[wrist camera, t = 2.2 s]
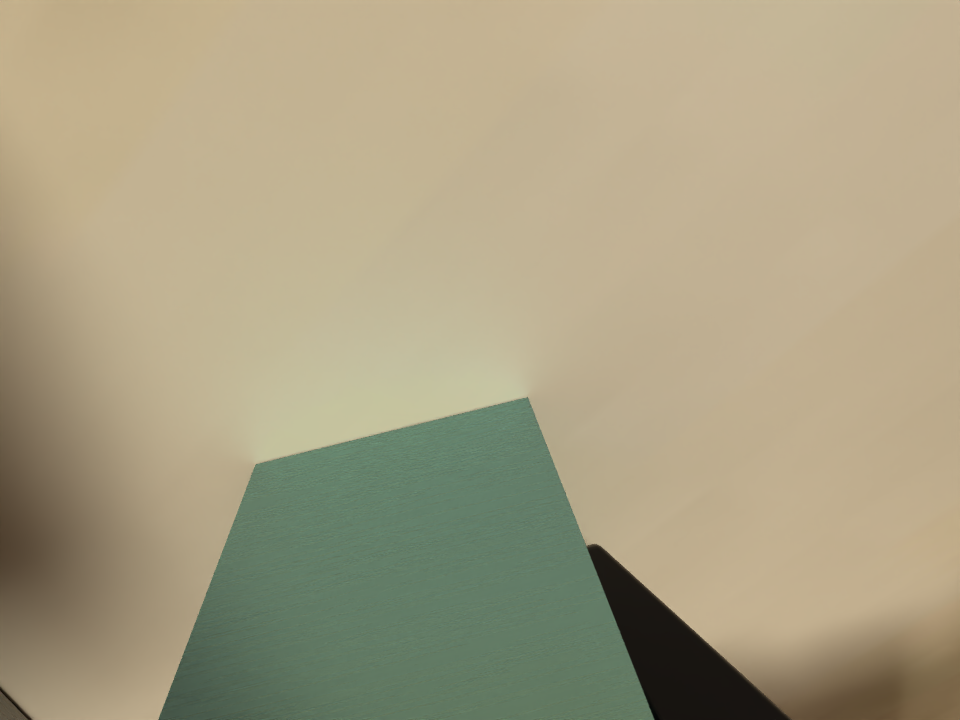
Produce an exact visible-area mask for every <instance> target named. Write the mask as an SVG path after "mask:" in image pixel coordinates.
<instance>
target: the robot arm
mask: <svg viewBox="0 0 960 720" xmlns="http://www.w3.org/2000/svg"><path fill="white" fill-rule="evenodd" d="M586 547H587V549H588V552H589V555H590V557H591V560H592V562H593V565H594V567H595V570H596V572H597V575H598V578H599V580H600V583H601V585H602V588H603V590H604V593H605V595H606V598H607V600H608V603H609V606H610V608H611V611H612V613H613V616H614V618H615V621H616V623H617V626H618V629H619V631H620V634H621V636H622V639H623V641H624V644H625V646H626V649H627V651H628V654H629V657H630V659H631V662H632V664H633V667H634V669H635V672H636V674H637V677H638V679H639V682H640V685H641V687H642V690H643V692H644V695H645V697H646V700H647V702H648V705H649V708H650V710H651V713H652V715H653V718H654V720H792V719H791V718H789V717H788V716H787V715H786V714H785V713H784V712H783V711H782V710H781V709H779V708H778V707H777V706H776V705H775V704H774V703H773V702H772V701H771V700H770V699H768V698H767V697H766V696H765V695H764V694H763V693H762V692H761V691H760V690H759V689H757V688H756V687H755V686H754V685H753V684H752V683H751V682H750V681H749V680H748V679H746V678H745V677H744V676H743V675H742V674H741V673H740V672H739V671H738V670H737V669H735V668H734V667H733V666H732V665H731V664H730V663H729V662H728V661H727V660H726V659H724V658H723V657H722V656H721V655H720V654H719V653H718V652H717V651H716V650H715V649H713V648H712V647H711V646H710V645H709V644H708V643H707V642H706V641H705V640H704V639H702V638H701V637H700V636H699V635H698V634H697V633H696V632H695V631H694V630H693V629H691V628H690V627H689V626H688V625H687V624H686V623H685V622H684V621H683V620H682V619H680V618H679V617H678V616H677V615H676V614H675V613H674V612H673V611H672V610H671V609H669V608H668V607H667V606H666V605H665V604H664V603H663V602H662V601H661V600H660V599H658V598H657V597H656V596H655V595H654V594H653V593H652V592H651V591H650V590H648V589H647V588H646V587H645V586H644V585H643V584H642V583H641V582H640V581H639V580H637V579H636V578H635V577H634V576H633V575H632V574H631V573H630V572H629V571H628V570H626V569H625V568H624V567H623V566H622V565H621V564H620V563H619V562H618V561H617V560H615V559H614V558H613V557H612V556H611V555H610V554H609V553H608V552H607V551H606V550H604V549H603V548H602V547H601V546H599V545H597V544H592V545H588V546H586Z"/></svg>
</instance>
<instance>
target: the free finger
mask: <svg viewBox="0 0 960 720" xmlns="http://www.w3.org/2000/svg"><path fill="white" fill-rule="evenodd" d="M158 720H654V718H653V715H652V713H651V710H650V708H649V705H648V702H647V700H646V697H645V695H644V692H643V690H642V687H641V685H640V682H639V679H638V677H637V674H636V672H635V669H634V667H633V664H632V662H631V659H630V657H629V654H628V651H627V649H626V646H625V644H624V641H623V639H622V636H621V634H620V631H619V629H618V626H617V623H616V621H615V618H614V616H613V613H612V611H611V608H610V606H609V603H608V600H607V598H606V595H605V593H604V590H603V588H602V585H601V583H600V580H599V578H598V575H597V572H596V570H595V567H594V565H593V562H592V560H591V557H590V555H589V552H588V549H587V547H586V544H585V542H584V539H583V537H582V534H581V532H580V529H579V527H578V524H577V521H576V519H575V516H574V514H573V511H572V509H571V506H570V504H569V501H568V499H567V496H566V493H565V491H564V488H563V486H562V483H561V481H560V478H559V476H558V473H557V470H556V468H555V465H554V463H553V460H552V458H551V455H550V453H549V450H548V448H547V445H546V442H545V440H544V437H543V435H542V432H541V430H540V427H539V425H538V422H537V420H536V417H535V414H534V412H533V409H532V407H531V404H530V402H529V399H528V397H527V398H523V399H519V400H515V401H511V402H507V403H503V404H499V405H494V406H490V407H486V408H482V409H478V410H474V411H470V412H466V413H462V414H458V415H454V416H450V417H446V418H442V419H438V420H434V421H430V422H426V423H422V424H418V425H414V426H410V427H405V428H401V429H397V430H393V431H389V432H385V433H381V434H377V435H373V436H369V437H365V438H361V439H357V440H353V441H349V442H345V443H341V444H337V445H333V446H329V447H325V448H321V449H316V450H312V451H308V452H304V453H300V454H296V455H292V456H288V457H284V458H280V459H276V460H272V461H268V462H264V463H260V464H256V465H255V467H254V470H253V473H252V475H251V478H250V481H249V483H248V486H247V488H246V491H245V494H244V496H243V499H242V502H241V504H240V507H239V509H238V512H237V515H236V517H235V520H234V523H233V525H232V528H231V530H230V533H229V536H228V538H227V541H226V544H225V546H224V549H223V551H222V554H221V557H220V559H219V562H218V565H217V567H216V570H215V572H214V575H213V578H212V580H211V583H210V586H209V588H208V591H207V593H206V596H205V599H204V601H203V604H202V607H201V609H200V612H199V614H198V617H197V620H196V622H195V625H194V628H193V630H192V633H191V635H190V638H189V641H188V643H187V646H186V649H185V651H184V654H183V656H182V659H181V662H180V664H179V667H178V670H177V672H176V675H175V677H174V680H173V683H172V685H171V688H170V691H169V693H168V696H167V698H166V701H165V704H164V706H163V709H162V711H161V714H160V717H159V719H158Z"/></svg>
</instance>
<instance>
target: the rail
mask: <svg viewBox="0 0 960 720" xmlns="http://www.w3.org/2000/svg"><path fill="white" fill-rule="evenodd" d="M0 720H28V719H27V718H26V717H25V716H24V715H23V714H22V713H21V712H20V711H19V710H18V709H17V708H16V707H15V706H14V705H13V704H12V703H11V702H10V701H9V700H8V699H7V697H6V696H5V695H4V694H3V693H2V692H1V691H0Z"/></svg>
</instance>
